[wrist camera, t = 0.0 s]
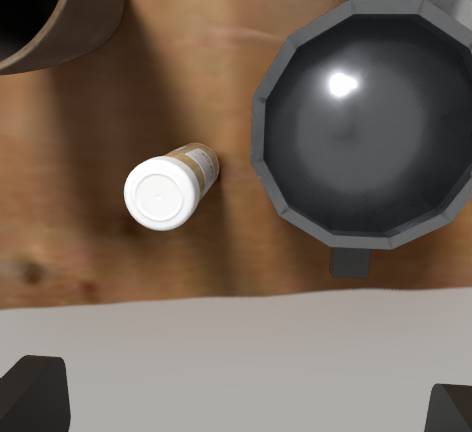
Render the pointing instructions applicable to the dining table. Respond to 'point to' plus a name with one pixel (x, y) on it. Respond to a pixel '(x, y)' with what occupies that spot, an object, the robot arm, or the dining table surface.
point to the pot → (367, 127)
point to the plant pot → (53, 31)
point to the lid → (456, 10)
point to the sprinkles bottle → (170, 186)
